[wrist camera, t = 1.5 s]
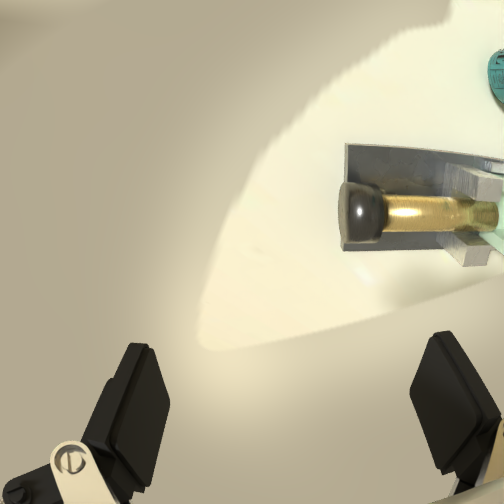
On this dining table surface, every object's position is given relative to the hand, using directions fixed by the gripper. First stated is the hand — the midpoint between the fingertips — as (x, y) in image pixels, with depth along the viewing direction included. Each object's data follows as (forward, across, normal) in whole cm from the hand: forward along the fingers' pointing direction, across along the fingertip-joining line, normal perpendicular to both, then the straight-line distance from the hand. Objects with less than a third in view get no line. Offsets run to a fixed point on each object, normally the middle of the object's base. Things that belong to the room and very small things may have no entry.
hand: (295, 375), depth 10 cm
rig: (+21, -20, 0) cm, 29 cm away
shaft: (+19, -13, 0) cm, 23 cm away
